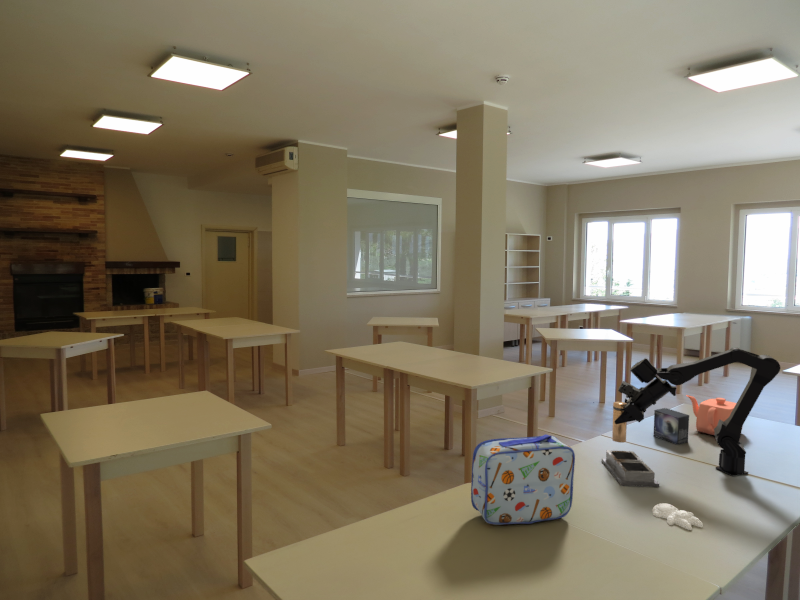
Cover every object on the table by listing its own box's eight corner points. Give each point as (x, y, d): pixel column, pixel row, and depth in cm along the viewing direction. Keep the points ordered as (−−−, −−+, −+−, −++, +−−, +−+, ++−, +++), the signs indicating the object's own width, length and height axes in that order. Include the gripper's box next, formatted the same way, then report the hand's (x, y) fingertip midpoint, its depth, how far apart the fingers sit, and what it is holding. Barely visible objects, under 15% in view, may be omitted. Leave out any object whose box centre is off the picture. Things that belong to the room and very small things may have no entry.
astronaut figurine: (681, 533, 129) (682, 522, 129) (645, 511, 141) (645, 500, 141) (708, 528, 132) (709, 516, 132) (670, 506, 144) (670, 496, 143)
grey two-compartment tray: (601, 461, 175) (602, 449, 174) (635, 462, 174) (635, 450, 173) (621, 485, 156) (621, 472, 155) (659, 487, 155) (659, 474, 155)
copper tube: (629, 441, 178) (630, 404, 177) (617, 443, 177) (619, 405, 176) (620, 437, 183) (621, 401, 182) (609, 438, 182) (610, 402, 181)
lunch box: (558, 501, 145) (560, 424, 144) (580, 519, 136) (583, 437, 134) (467, 513, 138) (468, 432, 136) (483, 533, 128) (485, 446, 126)
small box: (652, 436, 200) (653, 409, 199) (663, 433, 203) (665, 407, 202) (676, 445, 190) (678, 417, 189) (688, 442, 193) (690, 414, 192)
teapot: (694, 420, 220) (696, 388, 219) (747, 432, 205) (749, 397, 204) (673, 429, 208) (675, 395, 206) (728, 443, 193) (730, 406, 191)
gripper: (634, 369, 185) (600, 396, 190) (633, 380, 168) (596, 410, 174) (658, 393, 182) (622, 420, 188) (660, 407, 165) (621, 436, 171)
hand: (615, 421), depth 180 cm, fingers closed on copper tube, 4 cm apart
